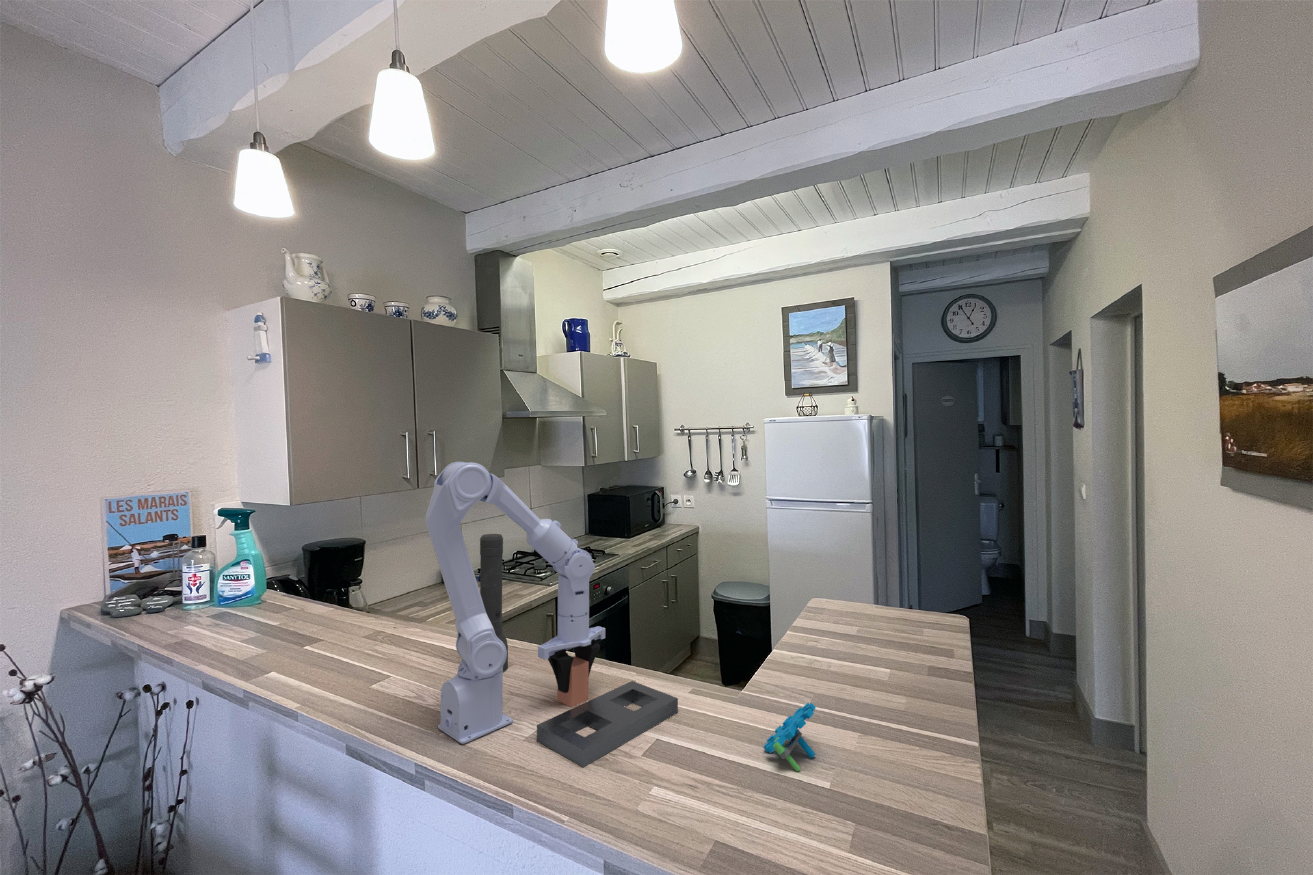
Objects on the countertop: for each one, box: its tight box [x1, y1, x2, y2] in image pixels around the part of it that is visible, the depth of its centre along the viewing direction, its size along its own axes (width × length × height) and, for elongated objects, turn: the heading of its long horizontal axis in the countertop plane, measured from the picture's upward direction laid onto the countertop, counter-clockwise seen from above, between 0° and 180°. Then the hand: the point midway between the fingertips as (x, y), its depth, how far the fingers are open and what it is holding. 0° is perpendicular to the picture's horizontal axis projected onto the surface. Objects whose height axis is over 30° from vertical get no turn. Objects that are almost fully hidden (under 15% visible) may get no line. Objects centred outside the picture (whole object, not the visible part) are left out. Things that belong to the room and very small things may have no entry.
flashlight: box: [479, 533, 509, 673], centre depth 115 cm, size 7×28×7 cm
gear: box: [763, 702, 816, 772], centre depth 83 cm, size 11×6×10 cm
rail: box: [536, 680, 679, 768], centre depth 92 cm, size 22×11×2 cm, turn 139°
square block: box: [556, 655, 590, 708], centre depth 101 cm, size 4×4×7 cm
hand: (573, 686), depth 101 cm, fingers closed on square block, 4 cm apart
